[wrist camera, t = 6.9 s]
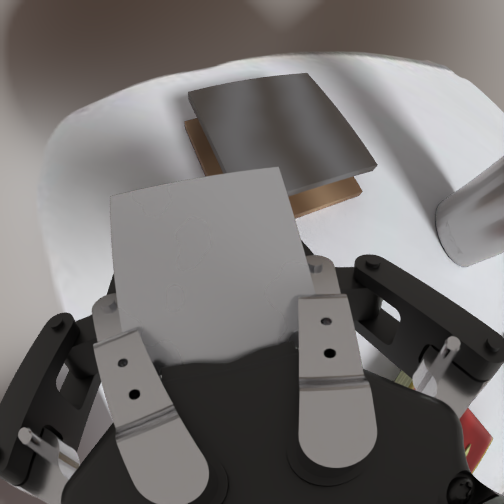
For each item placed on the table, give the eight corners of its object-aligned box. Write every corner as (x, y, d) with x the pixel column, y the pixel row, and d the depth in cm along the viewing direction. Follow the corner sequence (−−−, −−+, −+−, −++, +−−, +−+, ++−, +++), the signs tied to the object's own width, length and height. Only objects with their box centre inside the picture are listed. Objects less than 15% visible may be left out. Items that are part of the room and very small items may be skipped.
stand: (296, 103, 30) (308, 70, 25) (358, 195, 27) (384, 168, 22) (185, 127, 27) (181, 90, 22) (233, 241, 24) (238, 215, 19)
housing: (254, 236, 17) (290, 139, 8) (280, 343, 16) (355, 355, 7) (153, 255, 16) (90, 173, 7) (173, 365, 14) (114, 406, 6)
